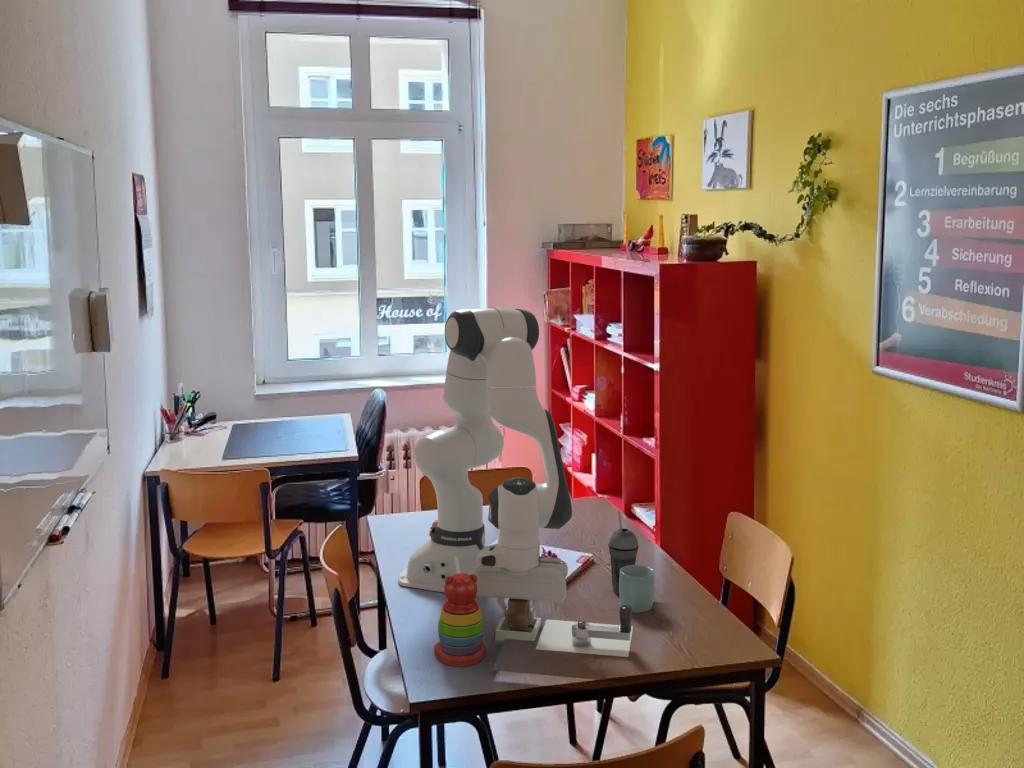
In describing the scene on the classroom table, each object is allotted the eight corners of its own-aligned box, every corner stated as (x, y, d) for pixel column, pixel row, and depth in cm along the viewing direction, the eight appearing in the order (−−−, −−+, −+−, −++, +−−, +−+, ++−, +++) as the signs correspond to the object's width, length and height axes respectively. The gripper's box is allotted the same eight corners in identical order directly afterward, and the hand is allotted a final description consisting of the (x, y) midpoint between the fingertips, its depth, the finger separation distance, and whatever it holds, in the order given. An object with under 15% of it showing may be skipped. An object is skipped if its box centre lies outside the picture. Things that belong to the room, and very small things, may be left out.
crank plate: (535, 655, 200) (535, 648, 200) (546, 625, 215) (546, 619, 214) (628, 663, 197) (628, 656, 196) (632, 632, 211) (633, 625, 211)
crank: (570, 645, 200) (571, 607, 199) (573, 637, 204) (573, 599, 203) (630, 650, 198) (630, 611, 197) (631, 642, 202) (632, 604, 201)
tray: (495, 644, 205) (495, 630, 205) (503, 627, 214) (503, 614, 213) (534, 647, 204) (534, 634, 203) (540, 630, 212) (541, 617, 212)
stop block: (507, 628, 207) (507, 601, 206) (511, 620, 211) (511, 594, 209) (526, 629, 206) (526, 602, 205) (529, 621, 210) (529, 595, 209)
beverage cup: (636, 598, 230) (638, 517, 226) (605, 595, 231) (607, 515, 228) (638, 586, 237) (640, 508, 233) (608, 584, 238) (610, 506, 235)
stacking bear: (484, 644, 206) (484, 563, 203) (490, 665, 196) (489, 582, 193) (433, 647, 204) (432, 566, 201) (436, 669, 194) (435, 584, 191)
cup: (612, 608, 224) (613, 567, 222) (642, 603, 227) (643, 562, 225) (629, 621, 217) (630, 579, 215) (659, 616, 220) (661, 574, 218)
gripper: (569, 553, 207) (568, 614, 209) (475, 547, 210) (476, 607, 213) (565, 563, 201) (565, 626, 203) (469, 557, 204) (469, 619, 207)
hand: (518, 617), depth 208 cm, fingers closed on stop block, 4 cm apart
